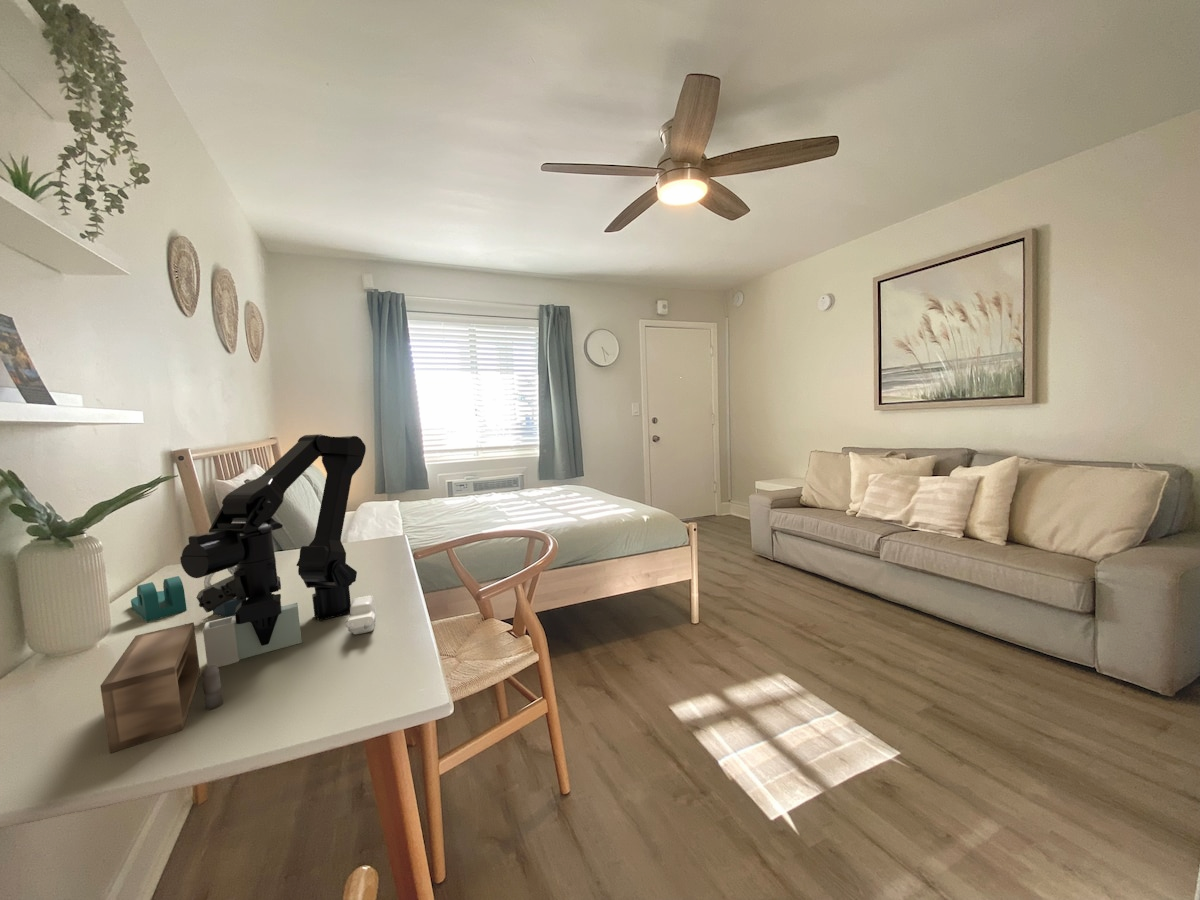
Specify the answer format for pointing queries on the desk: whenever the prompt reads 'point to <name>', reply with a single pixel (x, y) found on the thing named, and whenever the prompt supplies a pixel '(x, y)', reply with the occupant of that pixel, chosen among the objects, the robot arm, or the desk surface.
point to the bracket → (159, 600)
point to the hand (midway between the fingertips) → (265, 641)
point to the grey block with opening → (248, 637)
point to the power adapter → (361, 615)
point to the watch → (228, 607)
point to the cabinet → (155, 687)
